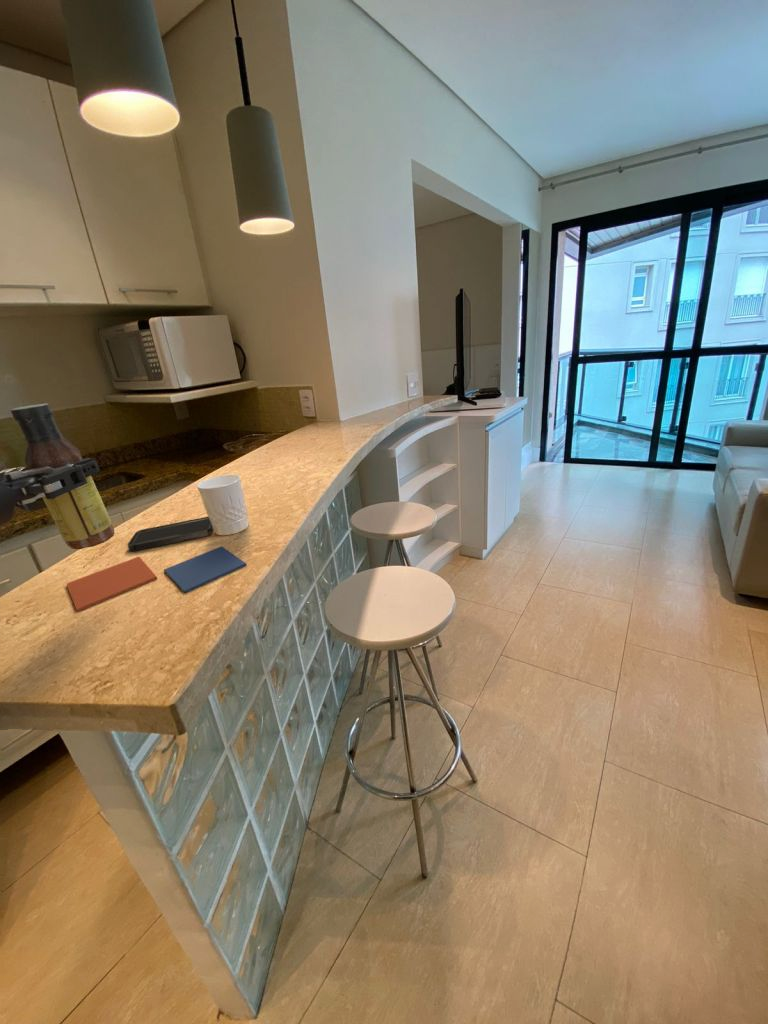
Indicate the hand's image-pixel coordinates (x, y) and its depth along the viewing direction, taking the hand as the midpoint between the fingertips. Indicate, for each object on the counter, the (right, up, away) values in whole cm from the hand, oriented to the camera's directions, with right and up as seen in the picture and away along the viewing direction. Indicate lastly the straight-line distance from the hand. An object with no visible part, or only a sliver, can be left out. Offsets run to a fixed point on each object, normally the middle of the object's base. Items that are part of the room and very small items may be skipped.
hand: (75, 465), depth 58 cm
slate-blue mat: (+15, -16, +9) cm, 23 cm away
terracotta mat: (0, -18, +8) cm, 20 cm away
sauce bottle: (+1, -11, +2) cm, 11 cm away
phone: (+2, -11, +23) cm, 26 cm away
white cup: (+14, -10, +23) cm, 29 cm away
